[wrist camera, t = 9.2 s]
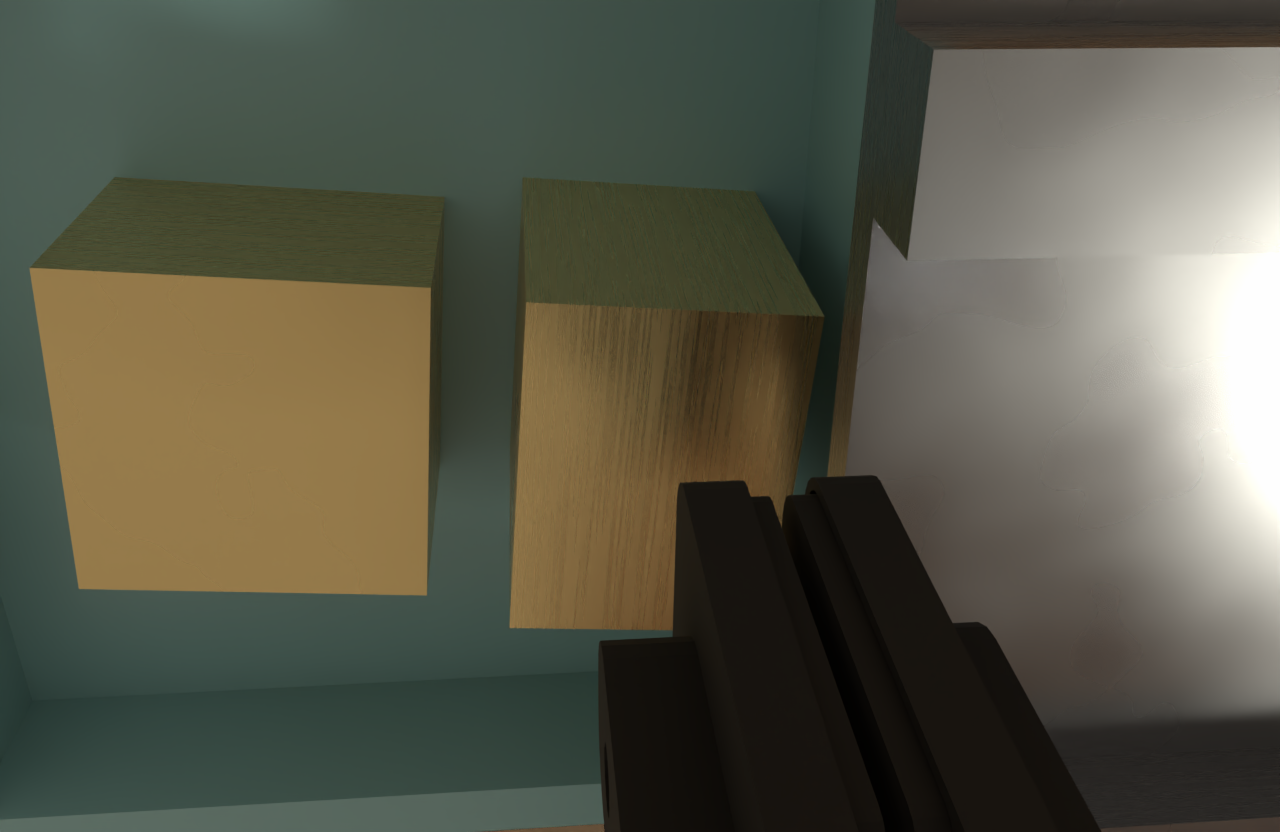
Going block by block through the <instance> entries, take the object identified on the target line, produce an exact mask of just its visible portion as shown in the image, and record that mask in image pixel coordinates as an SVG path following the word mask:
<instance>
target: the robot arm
mask: <svg viewBox="0 0 1280 832" xmlns="http://www.w3.org/2000/svg"><path fill="white" fill-rule="evenodd" d="M598 714H599V751H600V773H601V790H602V804H603V817H604V829H605V832H1102V831H1101V830H1100V828H1099V826H1098V824H1097V822H1096V820H1095V819H1094V817H1093V815H1092V813H1091V811H1090V810H1089V808H1088V806H1087V804H1086V802H1085V800H1084V799H1083V797H1082V795H1081V793H1080V791H1079V789H1078V788H1077V786H1076V784H1075V782H1074V780H1073V779H1072V777H1071V775H1070V773H1069V771H1068V769H1067V768H1066V766H1065V764H1064V762H1063V760H1062V758H1061V757H1060V755H1059V753H1058V751H1057V749H1056V748H1055V746H1054V744H1053V742H1052V740H1051V738H1050V737H1049V735H1048V733H1047V731H1046V729H1045V727H1044V726H1043V724H1042V722H1041V720H1040V718H1039V717H1038V715H1037V713H1036V711H1035V709H1034V707H1033V706H1032V704H1031V702H1030V700H1029V698H1028V696H1027V695H1026V693H1025V691H1024V689H1023V687H1022V686H1021V684H1020V682H1019V680H1018V678H1017V676H1016V675H1015V673H1014V671H1013V669H1012V667H1011V665H1010V664H1009V662H1008V660H1007V658H1006V656H1005V654H1004V653H1003V651H1002V649H1001V647H1000V645H999V644H998V642H997V640H996V638H995V637H994V636H993V634H992V633H991V631H990V630H989V629H988V627H987V626H985V625H983V624H981V623H979V622H964V623H952V621H951V619H950V617H949V615H948V613H947V611H946V609H945V607H944V605H943V603H942V601H941V599H940V597H939V595H938V593H937V591H936V589H935V587H934V585H933V583H932V581H931V579H930V578H929V576H928V574H927V572H926V570H925V568H924V566H923V564H922V562H921V560H920V558H919V556H918V554H917V552H916V550H915V548H914V546H913V544H912V542H911V540H910V538H909V536H908V534H907V532H906V530H905V528H904V526H903V524H902V522H901V520H900V518H899V517H898V515H897V513H896V511H895V509H894V507H893V505H892V503H891V501H890V499H889V497H888V495H887V493H886V491H885V489H884V487H883V485H882V483H881V481H880V480H879V479H878V477H877V476H874V475H860V476H834V477H811V478H810V480H809V481H808V483H807V486H806V490H805V494H802V495H788V496H787V497H786V499H785V502H784V509H783V519H782V527H781V524H780V521H779V519H778V516H777V513H776V510H775V507H774V504H773V501H772V499H771V497H769V496H752V497H751V496H750V493H749V490H748V487H747V485H746V482H745V481H743V480H730V481H705V482H680V484H679V487H678V493H677V511H676V542H675V573H674V604H673V635H672V637H662V638H642V639H622V640H602V641H600V642H599V650H598Z"/></svg>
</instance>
